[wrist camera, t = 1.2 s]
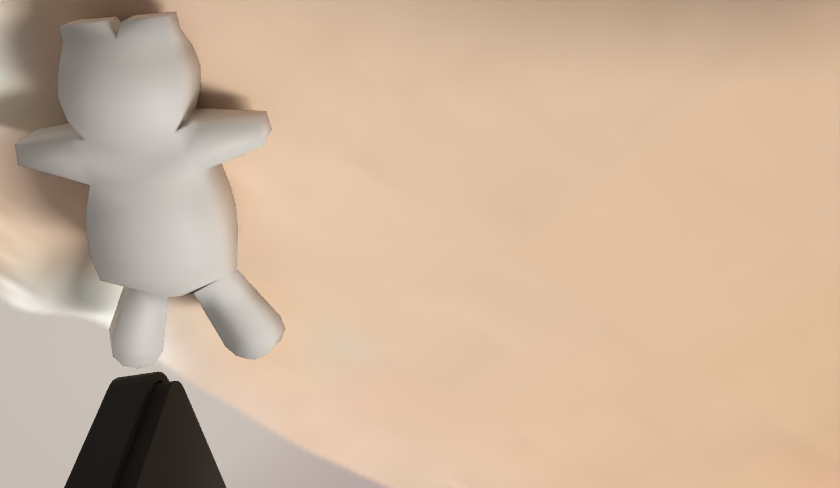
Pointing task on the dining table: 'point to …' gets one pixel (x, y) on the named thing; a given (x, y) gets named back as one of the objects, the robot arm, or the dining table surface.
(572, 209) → the dining table surface
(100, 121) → the white figure shaped piece
